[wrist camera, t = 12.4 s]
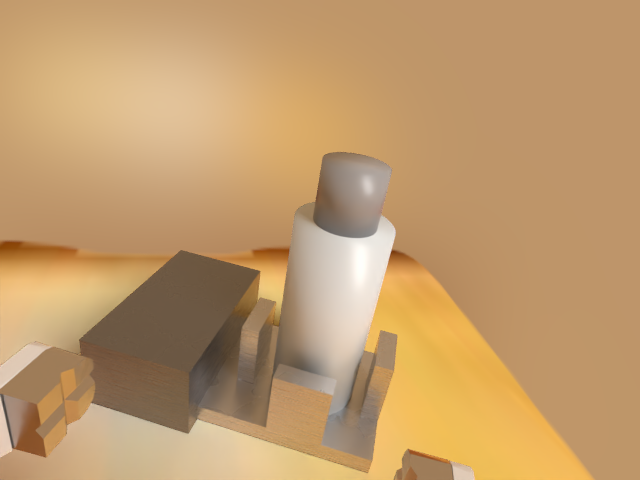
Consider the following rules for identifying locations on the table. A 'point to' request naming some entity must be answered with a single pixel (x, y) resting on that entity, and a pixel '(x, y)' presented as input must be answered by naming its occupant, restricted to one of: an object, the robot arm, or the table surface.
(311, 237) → the white lotion bottle
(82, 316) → the table surface
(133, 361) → the bottle holder
